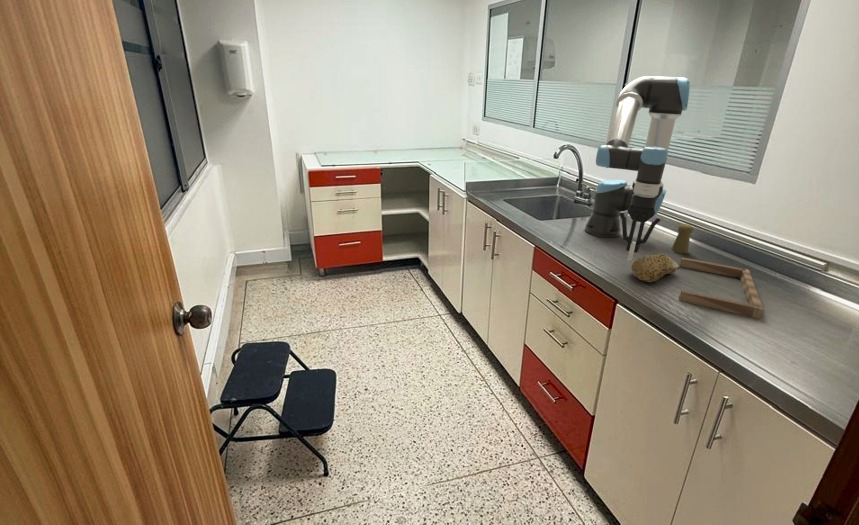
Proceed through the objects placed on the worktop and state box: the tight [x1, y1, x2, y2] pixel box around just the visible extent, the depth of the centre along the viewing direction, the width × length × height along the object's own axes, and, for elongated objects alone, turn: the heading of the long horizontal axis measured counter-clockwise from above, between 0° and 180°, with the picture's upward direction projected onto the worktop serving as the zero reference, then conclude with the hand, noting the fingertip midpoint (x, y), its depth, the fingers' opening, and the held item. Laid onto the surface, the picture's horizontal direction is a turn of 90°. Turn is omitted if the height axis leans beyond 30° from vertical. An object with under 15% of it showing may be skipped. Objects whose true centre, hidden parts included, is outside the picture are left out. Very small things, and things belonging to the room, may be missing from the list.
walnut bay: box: [678, 257, 764, 319], centre depth 145 cm, size 34×21×3 cm, turn 152°
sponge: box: [630, 254, 680, 283], centre depth 152 cm, size 13×8×20 cm
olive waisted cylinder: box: [670, 223, 694, 254], centre depth 176 cm, size 6×6×11 cm
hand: (629, 259), depth 155 cm, fingers closed
